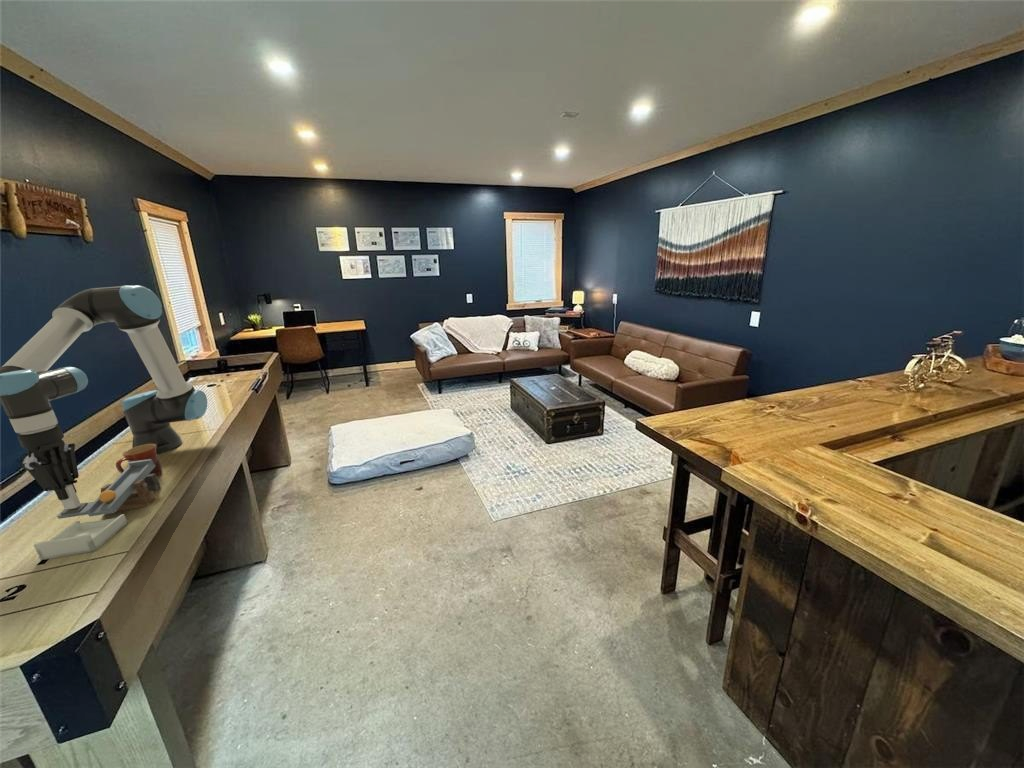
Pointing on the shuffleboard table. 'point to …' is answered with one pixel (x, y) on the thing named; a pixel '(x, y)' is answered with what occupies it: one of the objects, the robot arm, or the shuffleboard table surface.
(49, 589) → the shuffleboard table surface
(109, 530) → the tray
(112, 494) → the ball
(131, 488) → the lever
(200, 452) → the shuffleboard table surface
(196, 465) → the shuffleboard table surface
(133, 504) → the fulcrum
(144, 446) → the mug
